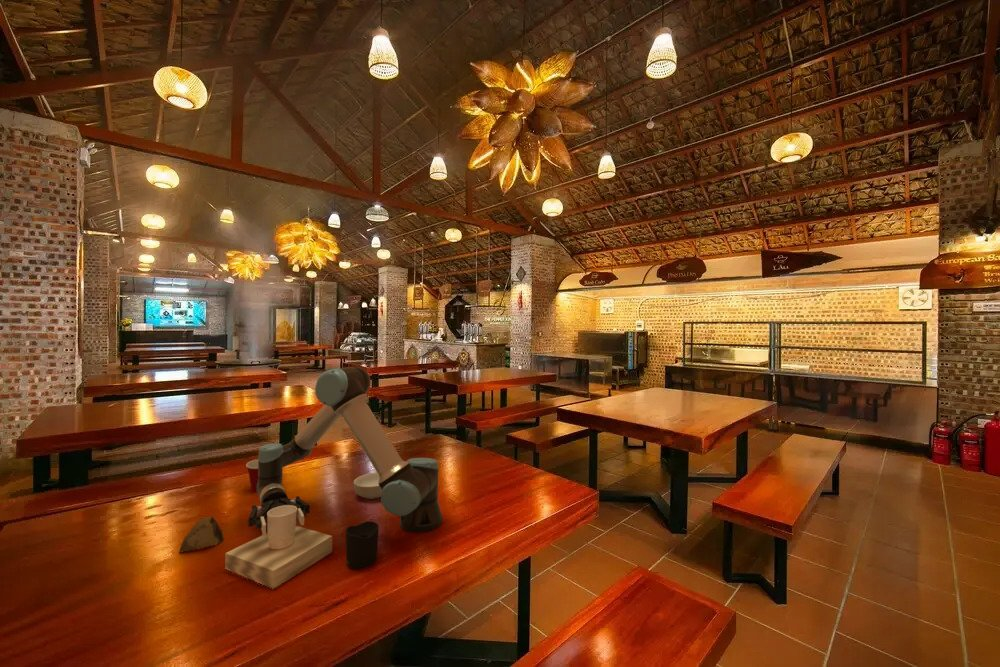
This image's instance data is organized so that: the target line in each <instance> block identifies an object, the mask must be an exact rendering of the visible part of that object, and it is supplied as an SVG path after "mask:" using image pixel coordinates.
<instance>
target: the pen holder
mask: <svg viewBox="0 0 1000 667" xmlns="http://www.w3.org/2000/svg"><path fill="white" fill-rule="evenodd" d="M379 528H380V527H379V524H378V523H377V522H376V521H370V520H367V521H363V522H362V523H360V524H357V525H350V526H348V527H346V529H345V555H346V560H345V561H346V565H347V567H348V568H349V569H351V570H363V569H367V568H369V567H371V566H373V565H374V564H375V563H376V561H377V559H378V551H379V550H378V547H379Z"/></svg>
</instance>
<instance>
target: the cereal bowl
mask: <svg viewBox="0 0 1000 667" xmlns="http://www.w3.org/2000/svg"><path fill="white" fill-rule="evenodd" d="M378 482H379V474H378V473H377V471H376V472H369V473H366V474H362V475H359V476H357V478H355V479H354V480H353V489H354V491H355V493H356V494H357V495H358V496H360V497H362V498H365V499H368V498H377V499H379V498H378V497H381V493H382V489H381V488H380V486H379V484H378Z"/></svg>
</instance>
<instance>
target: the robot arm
mask: <svg viewBox="0 0 1000 667" xmlns="http://www.w3.org/2000/svg"><path fill="white" fill-rule="evenodd" d="M371 383H372V381H371V377H370V375H369V373H368V371H367V370H366V369H364V368H363V367H360V366H354V365H352V366H346V367H340V368H336V367H334V368H332V369H328V370H326V371H323V373H321V374H320V375H319V377H318V378H317V380H316V383H315V384H316V385H315V387H314V390H315V396H316V398H317V399H318V401H319V402H320V404H323V406H322V407H321V408H320V409H319V410H318V411H317V413H316V414H314V416H313V417H311V418H310V420H309V421H308V422H307V423H306V425H304V426H303V428H302V429H301V430H300V431H299V432H298V433H297V434H296V435H295V437H294V438H293V439H291V441H290V442H288V443H286V444H284V445H283V444H281V443H277V442H274V443H268V444H267V443H266V444H263V445H261V446H260V447H259V451H258V458H257V459H258V484H257V492H256V493H257V496H258V498H259V501H260V504H261V505H260V506H259V505H252V506H251V511H250V514H249V516H248V520H247V521H248V522H247V525H248V527H250V528H251V527H253V526H254V525H255V529H257V530H259V529H260V530H261V535H266V533H267V522H266V520H267V512H268V511H269V510H271V509H273V508H275V507H278V506H283V505H293V506H296V507H297V515H296V519H298V521H299V524H300V527H302V526H304V525H305V519H306V515H307V514H310V509H311V508H310V507H311V505H310V504H309V503H308V502H306V501H304V500H302V499H301V497H300V495H299V496H295V498H293V499H291V498H289V497H288V494H287V493H286V491H285V489H284V486H283V468H284V467H286V466H289V465H292V464H294V463H296V462H299V461H301V460H304V459H305V458H307V457H309V455H311V453H312V452H313V448H314V446H315V445H316V444H317V443H318V442H319V441H320V440H321V439H322V438H323V436H324V435H326V433H327V432H328V431H329V430H330V429H331V428H332V427H333V426H334V425H335V424H336V422H337V421H338V420H339V419H340V418H341V417H342V418H343V419H344V420H345V423H346V424H347V426H348V427H349V429H350V430H351V432H352V434H353V435H354V437H355V438H356V440H357V442H358V444H359V445H360V447H361V448H362V450H363V451H364V453H365V455H366V457H367V458H368V460H369V461H370V463H371V465H372V466H373V468H374V470H375V471H376V472H377V473H378V474H379V482H378V484H379V486H380V488H381V489H382V493H381V498H380V502H381V504H382V507H383V508H384V510H385V511H387V512H388V513H389V514H390V515H392V516H398V517H399V526H400V528H401V529H402V530H404V531H406V532H409V533H417V534H418V533H427V532H430V531H433V530H436V529H437V528H439V527H440V526H441V525H442V523H443V514H442V511H441V506H440V504H439V496H438V494H439V470H440V469H439V461H438V460H437V459H434V458H430V457H414V458H413V457H412V458H409V459H407V460H406V461H405V460H403V458H401V456H400V454H399V453H398V451H397V449H396V448H395V446H394V445H393V443H392V441H391V440H390V438H389V437H388V435H387V434H386V432H385V430H384V429H383V427H382V426H381V424H380V422H379V421H378V419H377V417H376V416H375V414H374V413H373V412H372V409H371V408H370V406H369V405H368V402H366V401H367V400H366V399H367V397H368V394H367V393H368V392H369V390H370V389H371Z"/></svg>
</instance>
